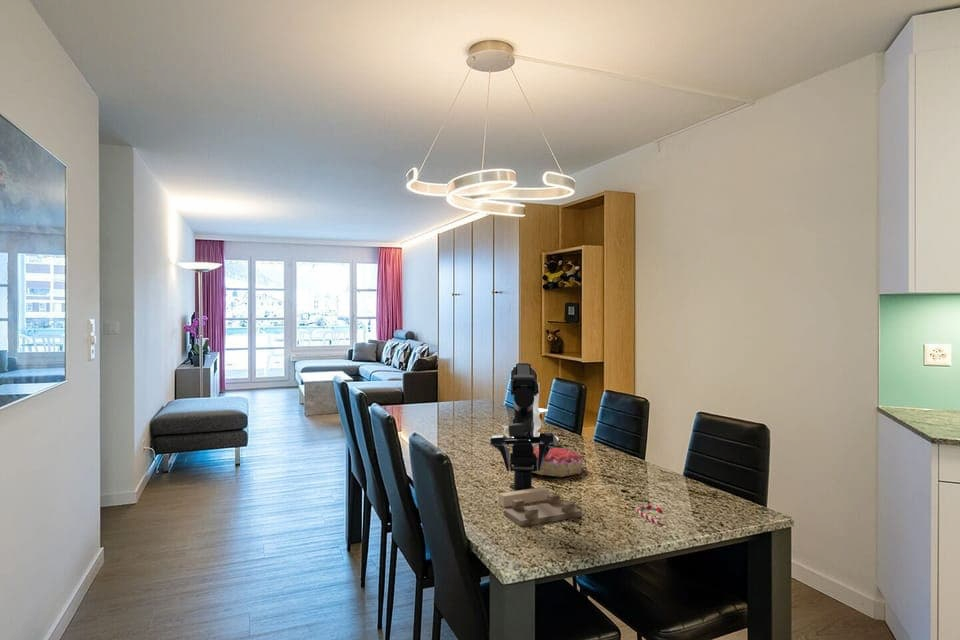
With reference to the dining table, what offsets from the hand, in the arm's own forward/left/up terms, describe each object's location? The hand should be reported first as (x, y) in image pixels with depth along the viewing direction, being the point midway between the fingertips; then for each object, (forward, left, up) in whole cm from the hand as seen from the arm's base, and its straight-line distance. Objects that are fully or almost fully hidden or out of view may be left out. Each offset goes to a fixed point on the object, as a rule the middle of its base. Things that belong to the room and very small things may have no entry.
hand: (523, 471), depth 164 cm
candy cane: (+14, +35, -14) cm, 40 cm away
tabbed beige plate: (+1, +6, -13) cm, 14 cm away
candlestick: (-79, +47, -13) cm, 93 cm away
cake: (-41, +33, -14) cm, 54 cm away
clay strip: (-12, +7, -14) cm, 19 cm away
